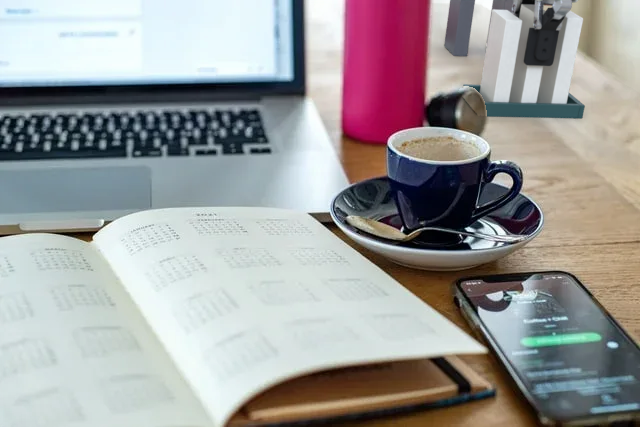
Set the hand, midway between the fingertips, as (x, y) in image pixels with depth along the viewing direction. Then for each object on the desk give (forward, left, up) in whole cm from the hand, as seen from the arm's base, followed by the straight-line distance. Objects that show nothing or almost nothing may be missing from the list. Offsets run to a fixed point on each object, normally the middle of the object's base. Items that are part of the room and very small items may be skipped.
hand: (529, 55), depth 99 cm
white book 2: (-4, 0, -6) cm, 7 cm away
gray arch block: (-3, -26, -7) cm, 27 cm away
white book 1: (+3, 0, -6) cm, 7 cm away
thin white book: (0, 0, -6) cm, 6 cm away
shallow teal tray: (0, 0, -7) cm, 7 cm away
